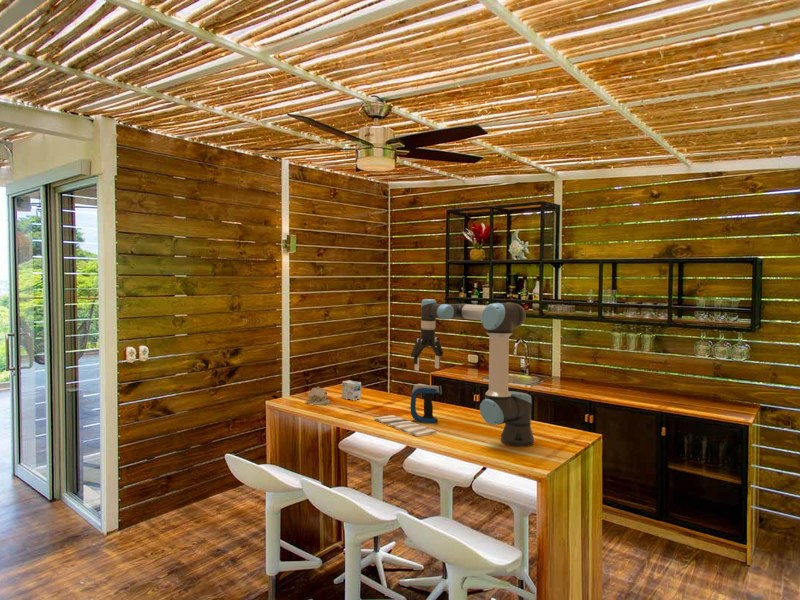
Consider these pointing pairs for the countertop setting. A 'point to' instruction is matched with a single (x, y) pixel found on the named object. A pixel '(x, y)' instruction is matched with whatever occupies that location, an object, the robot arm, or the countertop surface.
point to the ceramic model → (318, 397)
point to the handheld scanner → (428, 406)
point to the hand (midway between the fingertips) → (426, 369)
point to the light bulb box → (351, 390)
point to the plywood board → (405, 425)
